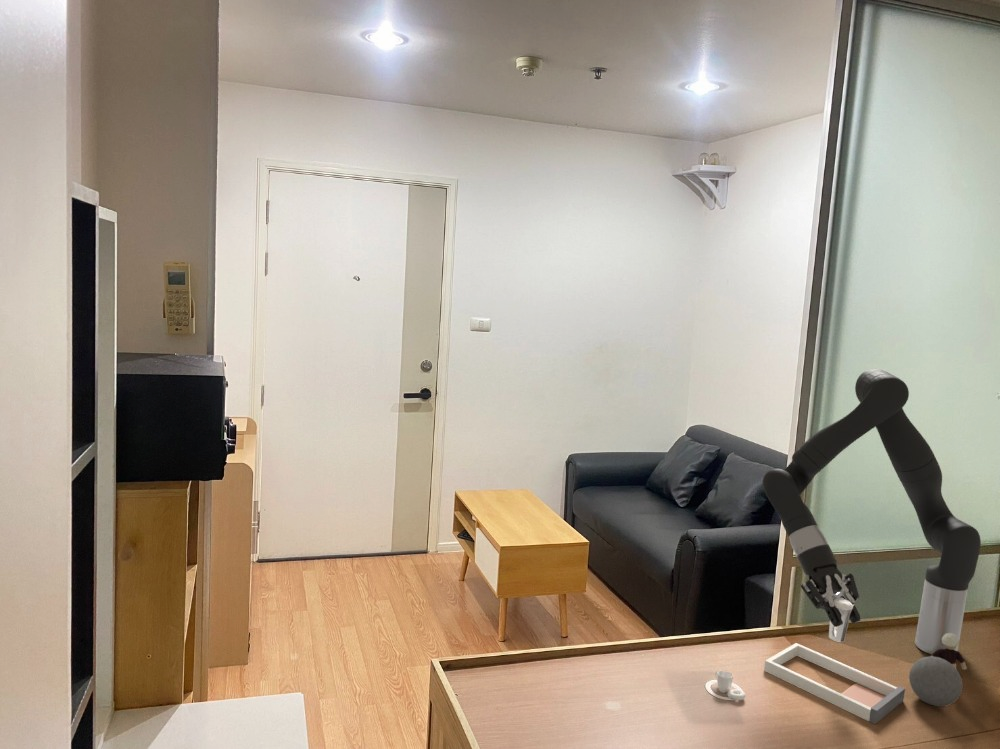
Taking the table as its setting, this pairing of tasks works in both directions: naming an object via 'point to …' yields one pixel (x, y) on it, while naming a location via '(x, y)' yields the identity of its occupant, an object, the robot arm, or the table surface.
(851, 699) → the tray
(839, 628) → the milkshake
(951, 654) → the grandmother figurine
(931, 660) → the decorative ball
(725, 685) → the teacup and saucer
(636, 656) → the table surface
